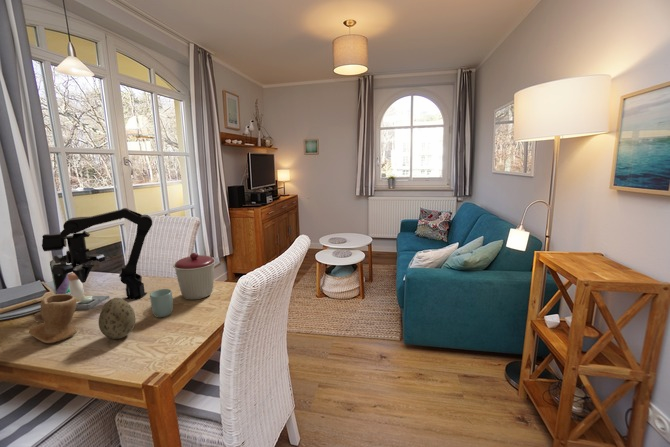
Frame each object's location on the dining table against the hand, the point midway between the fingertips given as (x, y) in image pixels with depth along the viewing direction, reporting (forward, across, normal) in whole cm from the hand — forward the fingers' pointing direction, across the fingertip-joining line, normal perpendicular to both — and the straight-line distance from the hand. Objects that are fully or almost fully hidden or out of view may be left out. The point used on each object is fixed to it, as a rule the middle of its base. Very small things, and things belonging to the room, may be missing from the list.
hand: (83, 282), depth 132 cm
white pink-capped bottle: (+10, -3, -8) cm, 13 cm away
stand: (+11, +11, -5) cm, 16 cm away
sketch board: (+11, -2, -5) cm, 12 cm away
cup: (+11, +1, +38) cm, 40 cm away
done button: (+9, 0, 0) cm, 9 cm away
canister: (+11, -19, +41) cm, 46 cm away
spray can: (+11, -6, -20) cm, 24 cm away
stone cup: (+11, +21, +11) cm, 26 cm away
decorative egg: (+11, +18, +34) cm, 40 cm away
